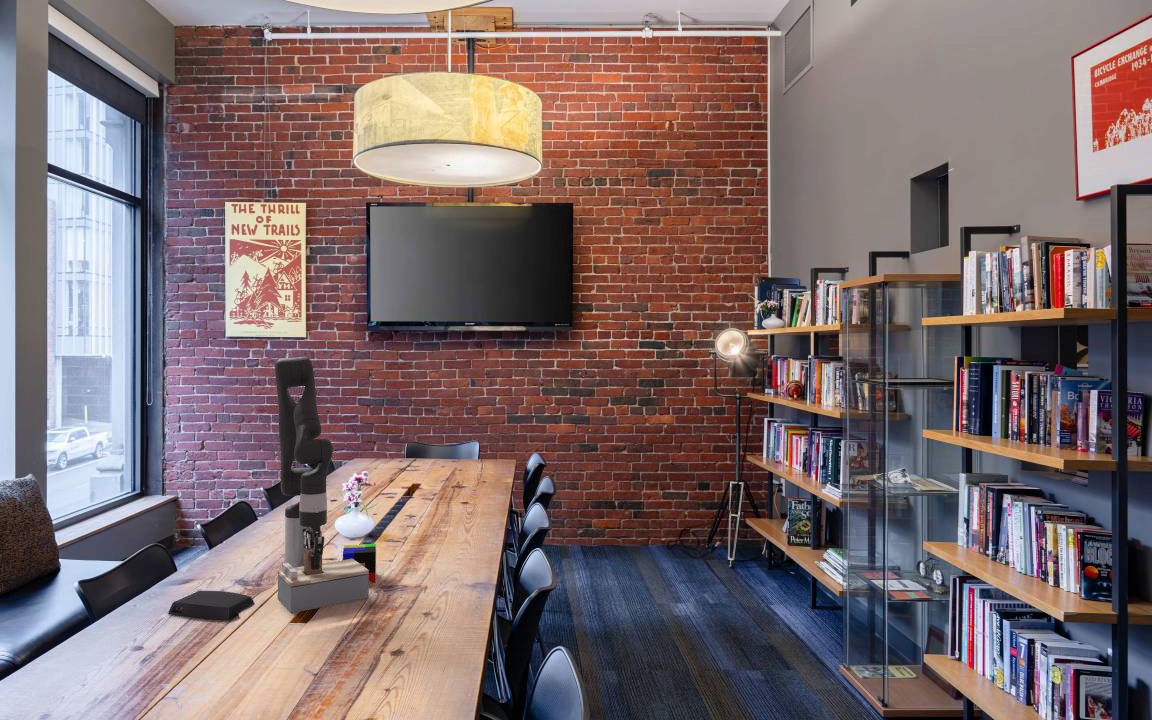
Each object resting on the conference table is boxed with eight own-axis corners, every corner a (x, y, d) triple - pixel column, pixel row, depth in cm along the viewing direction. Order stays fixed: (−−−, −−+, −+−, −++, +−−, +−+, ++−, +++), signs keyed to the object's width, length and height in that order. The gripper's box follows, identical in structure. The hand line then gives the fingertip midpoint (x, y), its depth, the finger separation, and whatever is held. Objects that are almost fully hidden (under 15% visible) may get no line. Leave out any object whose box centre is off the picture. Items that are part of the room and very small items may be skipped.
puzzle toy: (342, 585, 233) (342, 553, 233) (343, 576, 243) (343, 545, 242) (375, 583, 236) (375, 551, 235) (375, 573, 245) (375, 543, 245)
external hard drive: (200, 601, 218) (200, 587, 218) (257, 607, 214) (257, 593, 214) (165, 616, 206) (165, 602, 206) (226, 623, 201) (226, 608, 201)
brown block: (303, 599, 216) (304, 548, 216) (317, 597, 219) (318, 546, 218) (307, 603, 213) (308, 551, 213) (321, 601, 215) (322, 549, 215)
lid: (277, 573, 217) (277, 562, 217) (352, 561, 230) (352, 550, 230) (290, 586, 205) (290, 574, 205) (368, 573, 218) (368, 561, 218)
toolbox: (277, 602, 217) (277, 574, 217) (352, 588, 230) (352, 562, 230) (290, 616, 206) (290, 587, 205) (368, 601, 218) (368, 574, 218)
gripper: (293, 505, 219) (292, 563, 219) (307, 514, 207) (306, 575, 208) (319, 502, 223) (318, 559, 224) (334, 511, 212) (333, 571, 212)
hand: (313, 566), depth 216 cm, fingers closed on brown block, 4 cm apart
